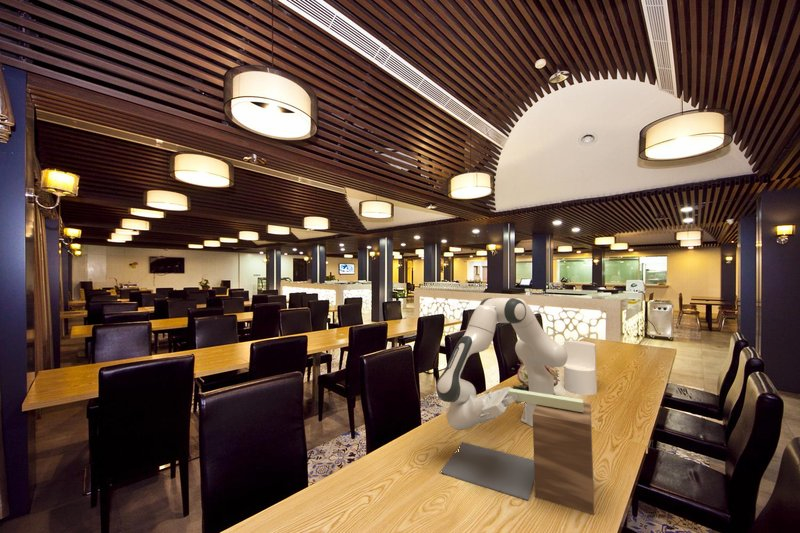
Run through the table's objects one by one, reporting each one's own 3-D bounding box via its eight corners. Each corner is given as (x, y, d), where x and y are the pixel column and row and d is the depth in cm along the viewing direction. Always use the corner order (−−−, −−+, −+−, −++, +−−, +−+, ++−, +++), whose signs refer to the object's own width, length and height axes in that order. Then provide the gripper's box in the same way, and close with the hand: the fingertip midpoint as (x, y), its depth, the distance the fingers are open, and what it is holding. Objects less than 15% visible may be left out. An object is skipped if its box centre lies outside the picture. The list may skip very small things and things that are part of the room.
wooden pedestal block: (542, 467, 118) (540, 395, 119) (593, 481, 110) (590, 403, 111) (535, 497, 103) (532, 414, 104) (593, 515, 95) (590, 424, 96)
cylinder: (571, 383, 209) (570, 339, 210) (601, 390, 196) (599, 343, 197) (559, 389, 198) (557, 343, 199) (590, 397, 185) (588, 347, 186)
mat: (462, 442, 137) (462, 441, 137) (539, 462, 122) (539, 461, 122) (439, 473, 116) (439, 471, 116) (528, 501, 101) (528, 499, 101)
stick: (510, 396, 117) (510, 388, 118) (583, 408, 106) (583, 399, 106) (508, 399, 115) (508, 391, 115) (583, 412, 103) (583, 402, 103)
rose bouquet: (518, 407, 172) (516, 350, 173) (507, 388, 201) (506, 340, 202) (569, 409, 169) (567, 351, 170) (551, 389, 198) (549, 340, 199)
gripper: (472, 409, 112) (507, 395, 106) (488, 390, 130) (519, 377, 124) (482, 427, 111) (518, 414, 105) (497, 406, 128) (528, 393, 122)
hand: (519, 394), depth 115 cm, fingers closed on stick, 3 cm apart
